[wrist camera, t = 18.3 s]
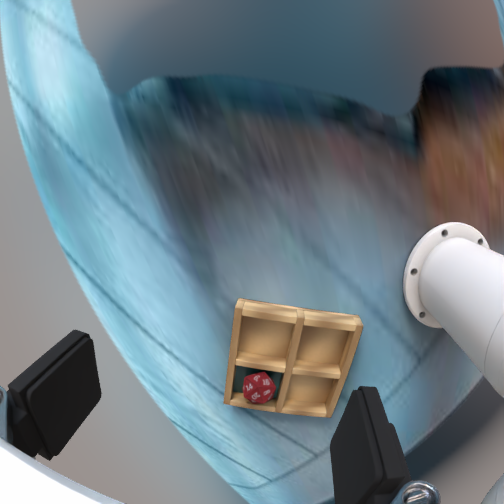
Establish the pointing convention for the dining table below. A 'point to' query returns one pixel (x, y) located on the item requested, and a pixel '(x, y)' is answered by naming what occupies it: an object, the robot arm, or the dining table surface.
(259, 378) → the dice
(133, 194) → the dining table surface
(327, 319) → the wooden compartment tray
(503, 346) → the robot arm
